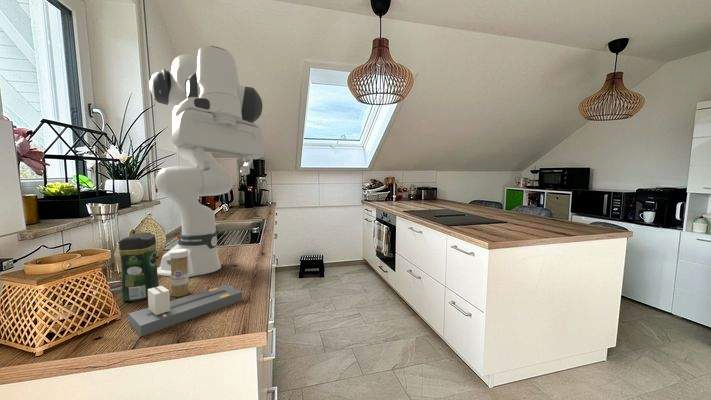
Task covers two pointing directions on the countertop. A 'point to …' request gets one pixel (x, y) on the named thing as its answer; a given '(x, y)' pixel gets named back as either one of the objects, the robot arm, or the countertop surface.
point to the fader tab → (158, 300)
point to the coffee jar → (138, 266)
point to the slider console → (184, 309)
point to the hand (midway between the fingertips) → (226, 172)
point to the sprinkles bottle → (179, 272)
